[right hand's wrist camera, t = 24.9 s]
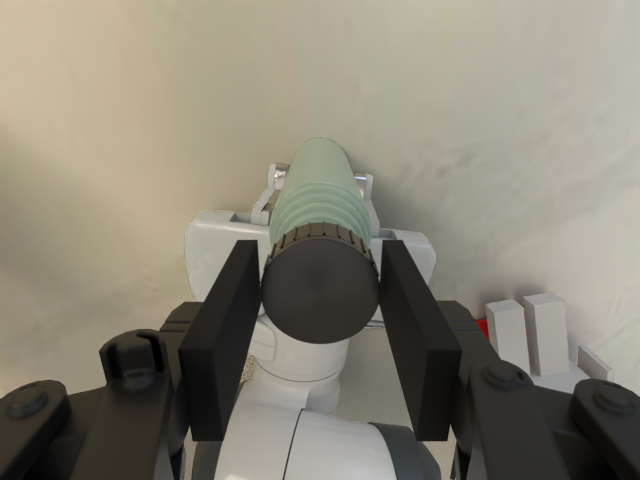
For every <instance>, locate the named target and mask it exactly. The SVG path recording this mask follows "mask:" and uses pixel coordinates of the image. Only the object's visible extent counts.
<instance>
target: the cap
mask: <svg viewBox="0 0 640 480" xmlns="http://www.w3.org/2000/svg"><path fill="white" fill-rule="evenodd" d="M263 270H264V272H263V275H262V278H261V282H260V284H261V291H260V293H261V301H262V305H263V308H264V310H265V312H266V314H267V316H268V318H269V319H270V320H271V322H272V323H273V324H274V325H275V326H276V327H277V328H278V329H279V330H280V331H282V332H283V333H284V334H286V335H288V336H289V337H291V338H293V339H296V340H298V341H302V342H305V343H310V344H330V343H335V342H340V341H342V340H345V339H348V338H350V337H352V336H353V335H355V334H357V333H358V332H360V331H361V330H362V329H363V328H364V327H365V326H366V325H367V324H368V323H369V322H370V320H371V319H372V318H373V316H374V314H375V312H376V310H377V308H378V305H379V300H380V290H381V288H380V282H379V278H378V277H380V275H379V272H378V269H377V266H376V263H375V260H374V259H373V255H372V252H371V249H370V248H369V249H368V247H367V246H366V244H365V243H364V241H363V238H359V237H358V236H357V235H356V234H355V233H353V231H352V230H351V229H350V230H348V229H347V228H345V227H342V226H340V225H339V224H337V225H336V224H332V223H325V221H323V222H317V223H311V222H308V224H305V225H301V226H299V227H297V226H295V227H294V229H292V230H291V231H289V232H288V233H286V234H285V233H284V234H283V235H282V237H281V238H280V239H279V240H278V242H277V243H274V244H273V248H272V251H271V253H270V255H269V254H268V256H267V259H266V262H265V265H264V269H263Z"/></svg>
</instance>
